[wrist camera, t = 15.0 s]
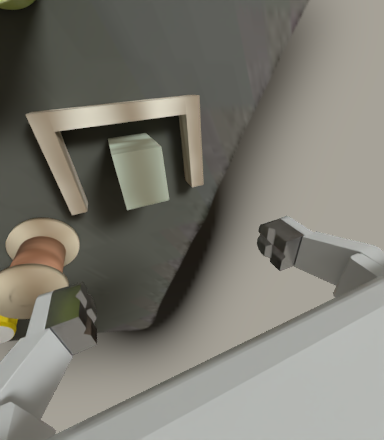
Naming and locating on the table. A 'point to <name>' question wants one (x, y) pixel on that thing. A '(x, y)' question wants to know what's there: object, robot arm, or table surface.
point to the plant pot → (15, 4)
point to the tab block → (139, 169)
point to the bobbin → (35, 264)
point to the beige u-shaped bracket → (112, 114)
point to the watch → (7, 328)
